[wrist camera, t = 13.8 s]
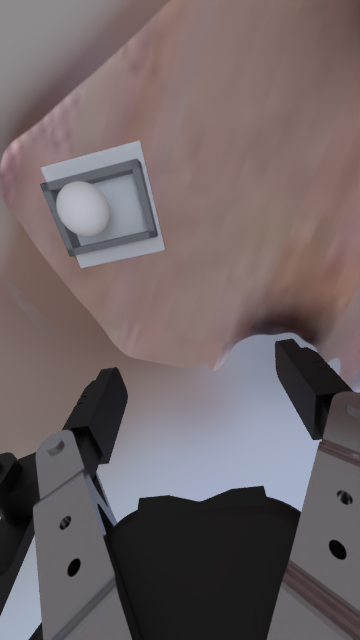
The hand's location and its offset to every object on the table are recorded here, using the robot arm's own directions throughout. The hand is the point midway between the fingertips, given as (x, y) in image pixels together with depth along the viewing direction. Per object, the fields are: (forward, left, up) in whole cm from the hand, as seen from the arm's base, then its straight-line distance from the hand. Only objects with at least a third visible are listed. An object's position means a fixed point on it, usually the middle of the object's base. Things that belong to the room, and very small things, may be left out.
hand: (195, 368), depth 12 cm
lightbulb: (+11, -10, -30) cm, 33 cm away
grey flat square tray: (+11, -9, -30) cm, 33 cm away
